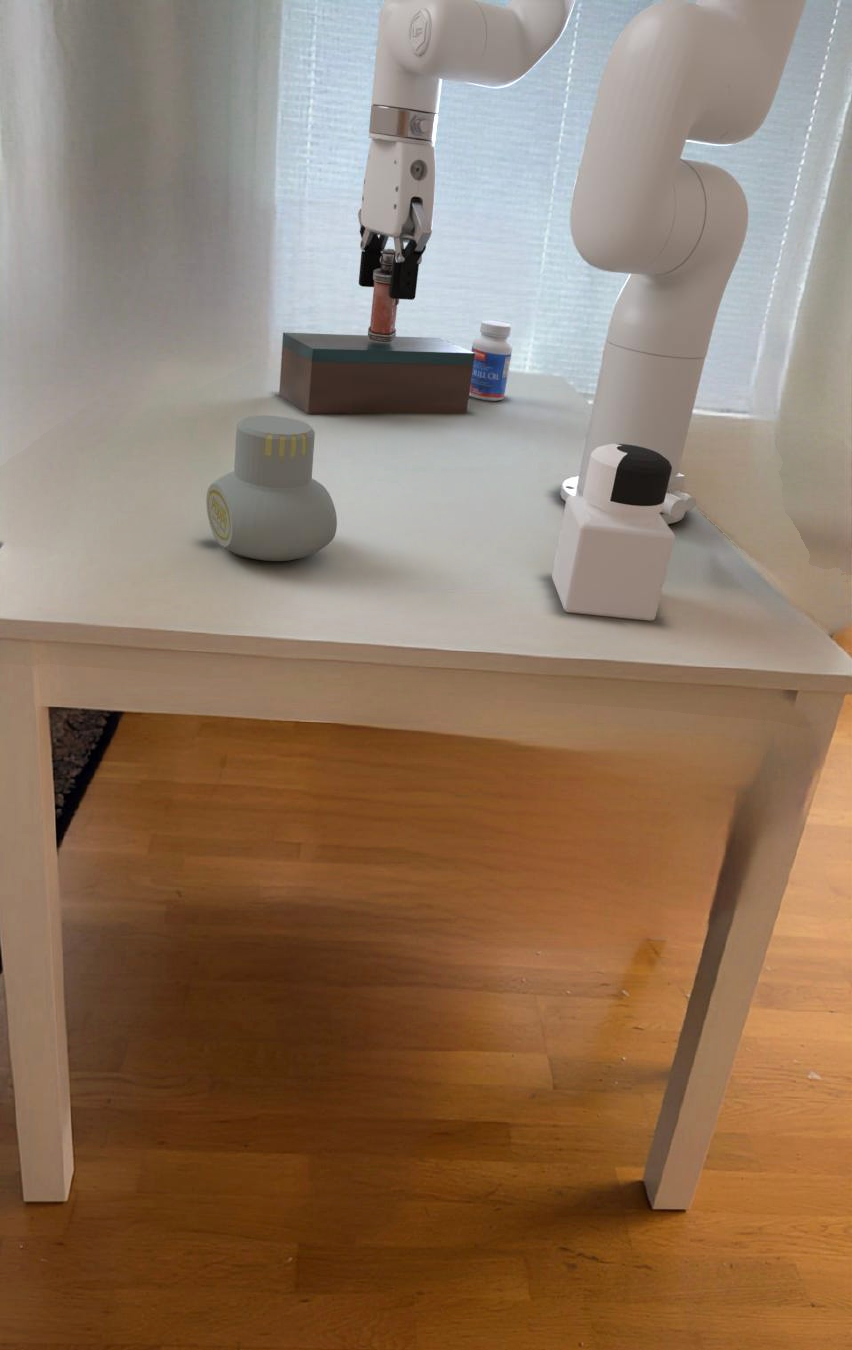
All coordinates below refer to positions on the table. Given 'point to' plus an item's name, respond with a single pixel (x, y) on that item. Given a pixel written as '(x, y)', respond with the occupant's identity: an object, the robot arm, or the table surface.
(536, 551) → the table surface
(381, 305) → the red smoke grenade
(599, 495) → the medicine bottle
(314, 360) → the brown rectangular block
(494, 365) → the pill bottle
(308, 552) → the air freshener
